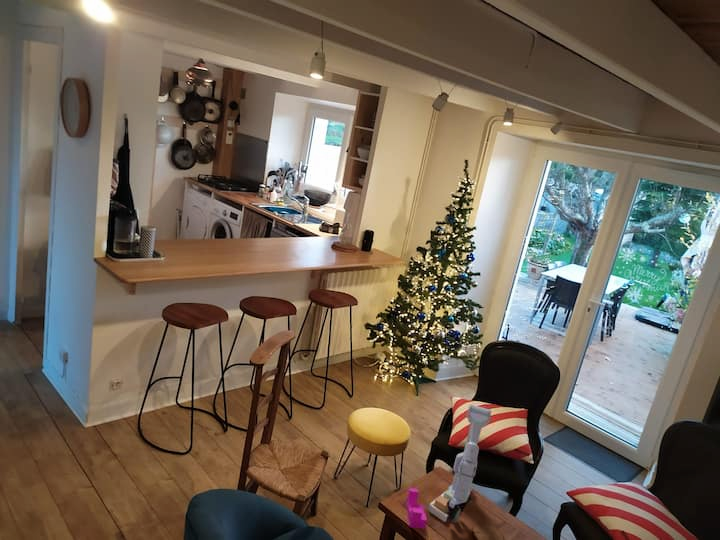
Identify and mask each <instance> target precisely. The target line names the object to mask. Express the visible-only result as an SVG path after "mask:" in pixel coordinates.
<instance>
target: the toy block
mask: <svg viewBox="0 0 720 540" xmlns="http://www.w3.org/2000/svg"><path fill="white" fill-rule="evenodd" d="M418 489H419V488H410V487H409V488H408V492H407V498H406V501H405V504H406V512H407V517H408V523H409V524H408V526H409V528H413V529H414V528H415V529H422V530H425V529H426V525H427V521H428V518H427V514H426V512H425V510H424V504H418V499H419V490H418Z"/></svg>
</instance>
